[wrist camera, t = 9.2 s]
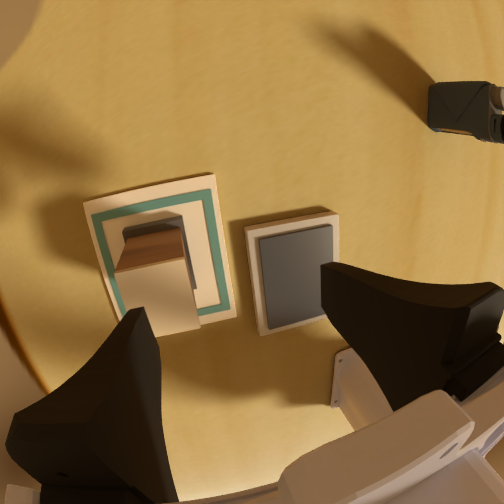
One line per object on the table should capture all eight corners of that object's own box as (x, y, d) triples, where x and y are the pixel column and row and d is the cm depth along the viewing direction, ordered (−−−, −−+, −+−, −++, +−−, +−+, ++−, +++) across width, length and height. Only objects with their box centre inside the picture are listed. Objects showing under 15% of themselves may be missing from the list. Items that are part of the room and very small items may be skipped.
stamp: (195, 282, 21) (207, 334, 15) (142, 293, 20) (136, 348, 15) (182, 215, 19) (187, 247, 14) (124, 227, 18) (106, 265, 13)
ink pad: (332, 308, 26) (339, 316, 25) (257, 329, 24) (261, 339, 23) (332, 210, 22) (340, 215, 21) (243, 226, 21) (248, 232, 20)
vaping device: (425, 131, 22) (539, 149, 11) (427, 79, 20) (537, 78, 9) (441, 137, 23) (547, 158, 12) (444, 87, 21) (548, 92, 10)
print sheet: (236, 314, 23) (237, 317, 23) (127, 337, 22) (127, 340, 21) (214, 173, 19) (215, 174, 19) (83, 202, 17) (82, 203, 17)
